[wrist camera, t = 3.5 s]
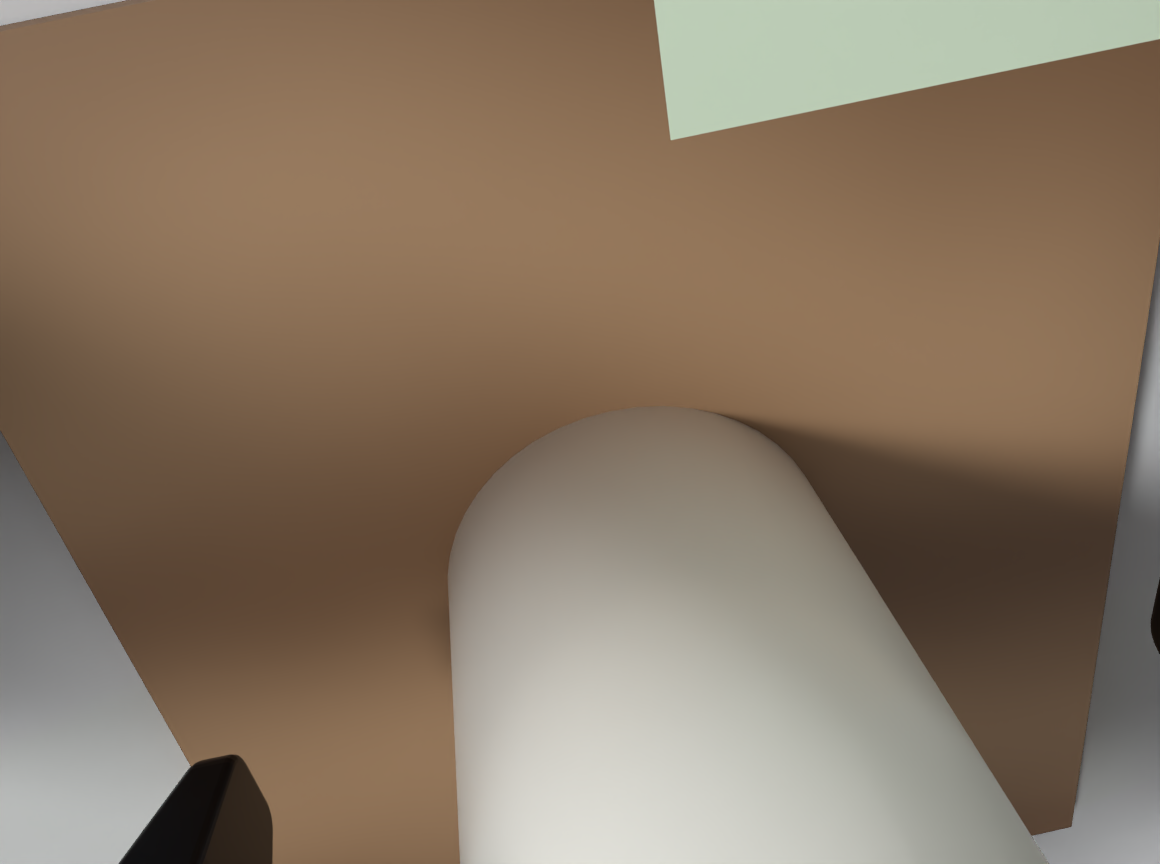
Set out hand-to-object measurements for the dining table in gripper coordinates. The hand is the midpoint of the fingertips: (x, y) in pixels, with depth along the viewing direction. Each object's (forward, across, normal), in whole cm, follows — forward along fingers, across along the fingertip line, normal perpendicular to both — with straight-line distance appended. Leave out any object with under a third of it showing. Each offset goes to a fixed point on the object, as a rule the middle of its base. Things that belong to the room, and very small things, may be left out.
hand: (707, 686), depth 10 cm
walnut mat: (+3, 0, +1) cm, 3 cm away
